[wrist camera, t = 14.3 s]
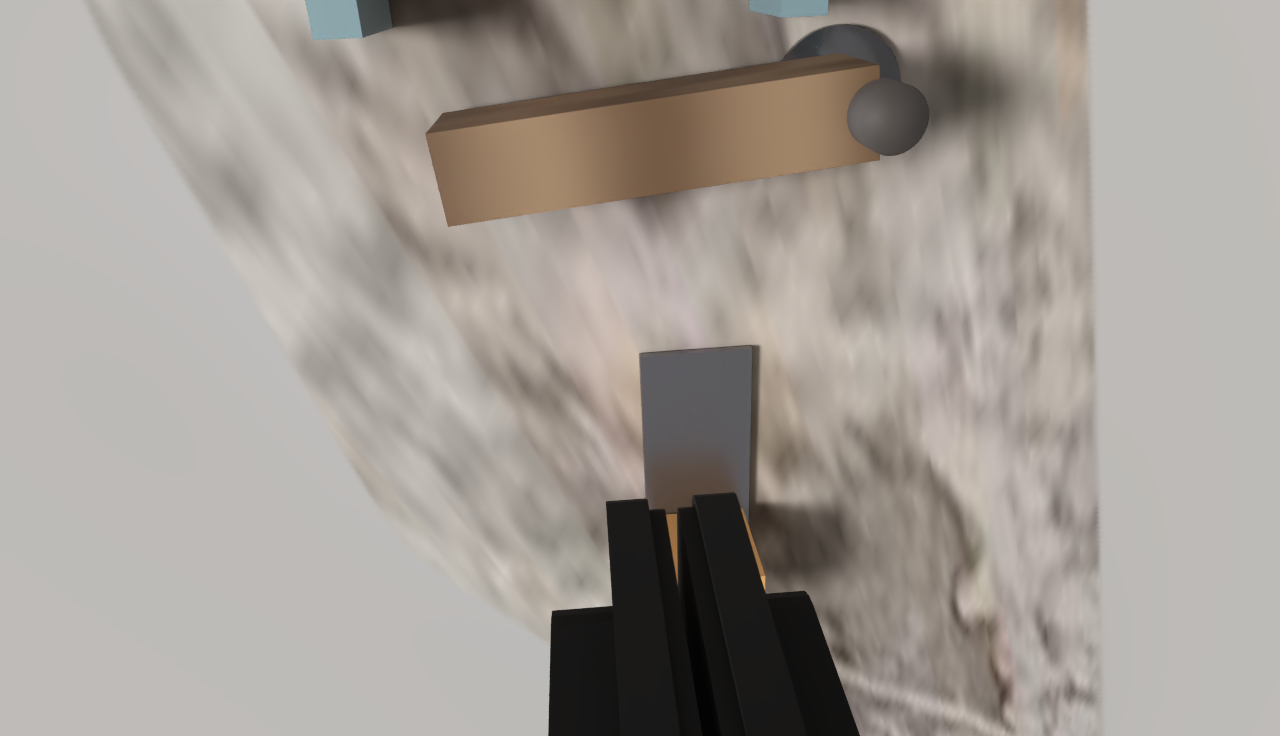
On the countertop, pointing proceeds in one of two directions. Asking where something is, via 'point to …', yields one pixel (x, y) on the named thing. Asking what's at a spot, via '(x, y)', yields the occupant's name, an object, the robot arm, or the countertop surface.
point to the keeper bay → (360, 7)
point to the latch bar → (670, 136)
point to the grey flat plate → (696, 424)
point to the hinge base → (847, 47)
